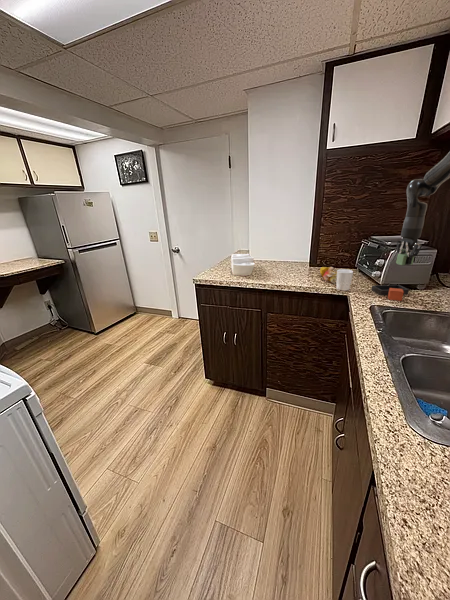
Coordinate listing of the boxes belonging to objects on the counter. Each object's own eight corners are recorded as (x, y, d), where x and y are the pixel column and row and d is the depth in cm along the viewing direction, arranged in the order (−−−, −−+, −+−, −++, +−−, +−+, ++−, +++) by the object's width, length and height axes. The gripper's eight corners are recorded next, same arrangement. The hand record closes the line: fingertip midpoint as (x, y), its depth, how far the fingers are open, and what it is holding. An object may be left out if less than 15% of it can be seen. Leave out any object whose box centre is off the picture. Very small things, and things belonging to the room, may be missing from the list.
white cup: (353, 289, 134) (356, 271, 130) (344, 292, 130) (347, 273, 127) (341, 285, 140) (343, 268, 137) (331, 288, 137) (333, 270, 133)
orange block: (400, 297, 120) (402, 288, 118) (401, 300, 116) (403, 291, 114) (387, 296, 122) (389, 287, 120) (388, 299, 118) (390, 290, 117)
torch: (322, 279, 165) (337, 286, 141) (312, 273, 165) (324, 279, 141) (329, 268, 163) (345, 273, 139) (318, 262, 163) (332, 266, 139)
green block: (406, 262, 122) (408, 253, 120) (412, 264, 118) (414, 255, 116) (395, 263, 122) (397, 253, 120) (401, 265, 118) (403, 255, 116)
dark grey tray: (397, 288, 131) (398, 284, 131) (408, 294, 124) (409, 289, 123) (371, 290, 131) (372, 285, 131) (380, 295, 124) (381, 290, 123)
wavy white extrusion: (231, 265, 198) (230, 252, 194) (251, 264, 197) (251, 251, 193) (230, 277, 165) (230, 261, 162) (255, 276, 165) (255, 261, 161)
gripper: (433, 228, 107) (423, 266, 113) (409, 225, 120) (401, 260, 126) (415, 228, 107) (406, 267, 113) (394, 225, 120) (387, 260, 126)
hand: (404, 263), depth 120 cm, fingers closed on green block, 4 cm apart
